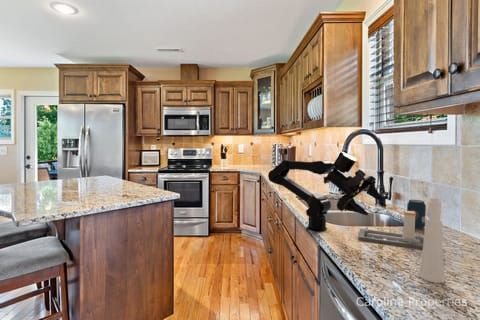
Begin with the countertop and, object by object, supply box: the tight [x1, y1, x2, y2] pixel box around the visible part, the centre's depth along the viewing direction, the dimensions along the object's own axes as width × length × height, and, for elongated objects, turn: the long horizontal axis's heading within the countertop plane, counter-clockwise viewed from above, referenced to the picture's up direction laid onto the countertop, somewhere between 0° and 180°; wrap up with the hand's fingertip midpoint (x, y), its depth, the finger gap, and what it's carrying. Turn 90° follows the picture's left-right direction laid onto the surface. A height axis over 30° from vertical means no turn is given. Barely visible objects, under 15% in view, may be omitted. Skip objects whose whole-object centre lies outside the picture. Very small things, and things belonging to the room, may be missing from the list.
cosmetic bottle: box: [417, 196, 446, 284], centre depth 74 cm, size 6×6×22 cm
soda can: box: [406, 199, 427, 230], centre depth 121 cm, size 7×7×12 cm
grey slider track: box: [358, 227, 424, 250], centre depth 104 cm, size 24×12×3 cm, turn 63°
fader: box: [401, 210, 416, 240], centre depth 102 cm, size 4×4×10 cm
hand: (375, 207), depth 100 cm, fingers open, 9 cm apart
